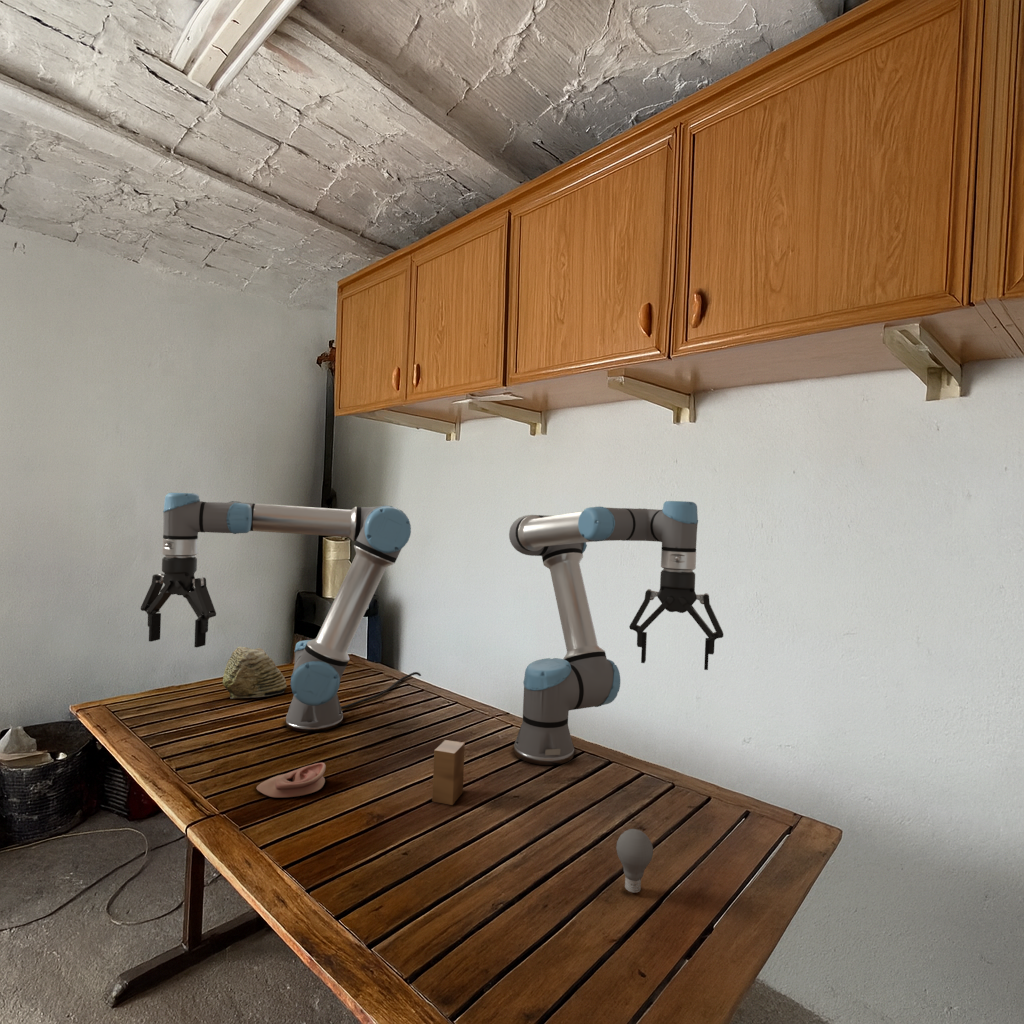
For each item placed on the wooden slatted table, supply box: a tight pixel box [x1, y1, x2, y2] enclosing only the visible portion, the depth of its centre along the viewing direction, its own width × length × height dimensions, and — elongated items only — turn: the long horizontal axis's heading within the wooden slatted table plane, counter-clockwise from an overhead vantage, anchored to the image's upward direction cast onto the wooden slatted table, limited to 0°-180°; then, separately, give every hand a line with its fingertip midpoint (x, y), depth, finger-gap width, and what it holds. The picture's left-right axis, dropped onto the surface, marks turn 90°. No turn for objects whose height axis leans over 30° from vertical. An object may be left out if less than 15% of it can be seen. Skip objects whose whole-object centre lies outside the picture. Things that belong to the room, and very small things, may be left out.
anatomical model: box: [256, 762, 327, 799], centre depth 137 cm, size 13×4×12 cm
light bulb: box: [615, 828, 654, 894], centre depth 106 cm, size 6×6×10 cm
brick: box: [431, 739, 466, 806], centre depth 136 cm, size 6×5×11 cm
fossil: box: [222, 646, 288, 699], centre depth 198 cm, size 9×18×15 cm, turn 132°
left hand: (176, 643), depth 154 cm, fingers open, 13 cm apart
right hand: (674, 665), depth 141 cm, fingers open, 13 cm apart
